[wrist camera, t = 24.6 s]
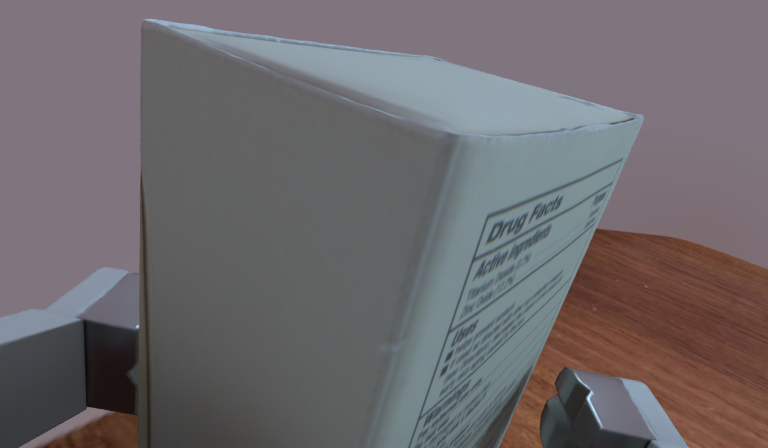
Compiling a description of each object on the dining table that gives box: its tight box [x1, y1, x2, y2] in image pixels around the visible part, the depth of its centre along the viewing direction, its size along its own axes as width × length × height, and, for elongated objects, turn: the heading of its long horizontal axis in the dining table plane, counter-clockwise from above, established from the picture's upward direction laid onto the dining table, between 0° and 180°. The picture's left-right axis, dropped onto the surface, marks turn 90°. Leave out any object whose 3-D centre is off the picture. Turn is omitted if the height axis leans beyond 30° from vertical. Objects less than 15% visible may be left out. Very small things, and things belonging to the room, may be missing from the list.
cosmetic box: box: [138, 19, 643, 448], centre depth 9 cm, size 6×4×12 cm
